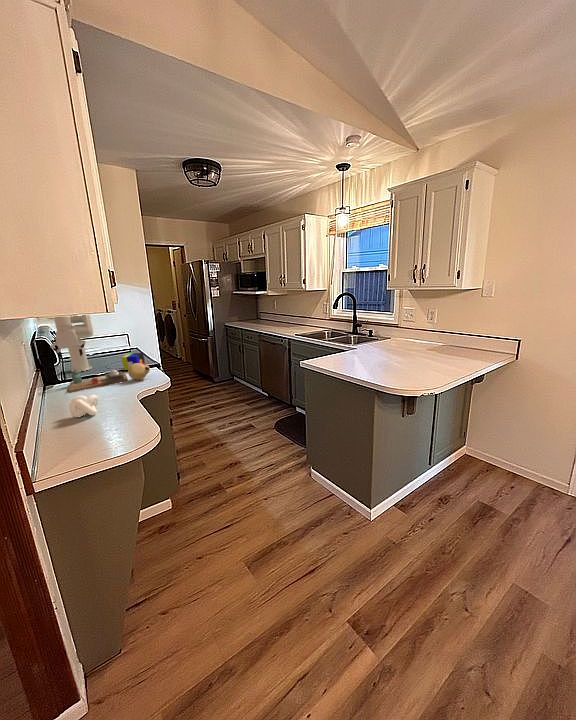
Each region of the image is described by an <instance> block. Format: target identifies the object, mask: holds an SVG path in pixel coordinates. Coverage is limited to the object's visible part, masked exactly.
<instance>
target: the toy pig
mask: <svg viewBox="0 0 576 720" xmlns="http://www.w3.org/2000/svg"><path fill="white" fill-rule="evenodd" d="M150 370H151V368H150V366H149V365H147V364H145V365H143V364H140V363H135V364H132V365H131V366H130V367H129V370H128V371H127V372H128V376H129V377H130V378H131V380H132V381H135V380H136V381H137V380H139V381H144V378H146V377H147V375H148V374H149V373H150V372H151V371H150Z"/></svg>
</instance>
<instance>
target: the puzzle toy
mask: <svg viewBox="0 0 576 720" xmlns="http://www.w3.org/2000/svg"><path fill="white" fill-rule="evenodd" d="M144 355H145V354H144V352H135V353H134V352H131V353H126V354H125V355H123V356H122V357H121V361H122V365H123V371H124V370H129V367H130V366H131V365H132V364H135V363H140V364H143V365H146V361H145V356H144Z"/></svg>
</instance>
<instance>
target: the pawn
mask: <svg viewBox="0 0 576 720" xmlns="http://www.w3.org/2000/svg"><path fill="white" fill-rule="evenodd" d="M71 378H72V382H73V383H74V384H78V383H81V382H82V380H83V379H82V376H81V372H78V371H77V370H75V371H73V372H71Z"/></svg>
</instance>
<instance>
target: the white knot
mask: <svg viewBox="0 0 576 720" xmlns="http://www.w3.org/2000/svg"><path fill="white" fill-rule="evenodd" d="M98 403H99V397H98V395H96V394H91V395H89V396H85V395H77V396H75V397H73V399H72V400H71V401H70V403H69V412H70V415H71V416H72V417H73V416H74V417H73V418H75V417H79V416H83V415H84V416H85V415H86V414H87V415H90V416H95V415H97V413H98V411H97V408H96V407H97V406H98ZM94 414H95V415H94ZM84 416H83V417H84Z"/></svg>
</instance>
